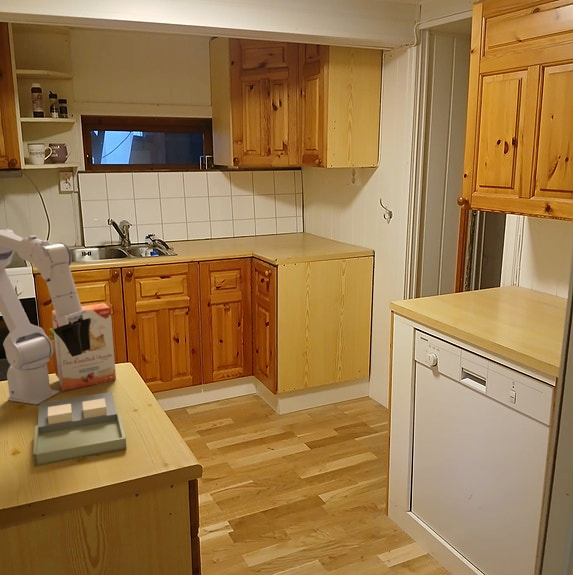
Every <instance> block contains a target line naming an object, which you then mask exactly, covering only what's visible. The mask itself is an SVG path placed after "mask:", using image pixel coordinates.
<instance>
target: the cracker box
mask: <svg viewBox="0 0 573 575" xmlns="http://www.w3.org/2000/svg"><path fill="white" fill-rule="evenodd" d="M81 307H82V310H83V311H84V310H88V312H87V313H85V314H83V315H84V318H85V319H88V318H91V323H90V331H89V335H90V350H86V351H83V352H82V354H80V355H77V356H74V357H72V356H71V354H70V352H69V351H68V349H67V347H66V345H65V344H64V342H63V341H62V339H61V338H60V337H59V336H58V335H57V334H56V333H55V332H54V338H55V347H56V357H57V366H58V376H59V378H58V383H59V385H60V387H61V389H62V391H63V392H65V391H69V390H73V389H78V388H84V387H88V386H92V385H97V384H101V383H107V382H111V381H116V380H117V377H116V375H117V373H116V361H115V351H114V347H115V346H114V335H113V325H112V324H113V323H112V322H113V321H112V312H111V311H112V310H111V306H109V305H107V303H105V302H102V303H101V302H100V303H95V304H88V305H81ZM51 315H52V316H51V318H52V326H53V328H52V329H53V330H54V329H55V328H58V327H59V326H58V323H57V319H56V318H57V316H56V313H55V309H54V310H51ZM72 320H74V319H72ZM83 320H84V319H83ZM69 321H71V320H69ZM72 323H74V322H72ZM60 327H61V326H60Z"/></svg>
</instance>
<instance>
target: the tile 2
mask: <svg viewBox="0 0 573 575" xmlns="http://www.w3.org/2000/svg"><path fill="white" fill-rule="evenodd" d="M82 403H83V413H84V419H85V418H91V417H97V416H103V415H107V410H106V403H105V398H103V399H97V400H90V401H84V402H82Z"/></svg>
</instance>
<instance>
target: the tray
mask: <svg viewBox="0 0 573 575" xmlns="http://www.w3.org/2000/svg"><path fill="white" fill-rule="evenodd" d="M127 448H128V447H127V437H126V433H125V429H124V425H123V422H122V417H121V413H120V411H117V421H111V422H105V423H99V424H94V425H88V426H82V427H76V428H70V429H64V430H58V431H53V432H47V433H41V434H39V429H38V424H36V425H34V436H33V448H32V449H33V450H32V459H33V467H38V466H45V465H49V464H54V463H55V464H56V463H59V462H60V463H61V462H65V460H66V461H70V459H71V460H76V459H80V457H82V458H85V457H86V456H87V457H93V456H97V455H103V454H107V453H108V454H109V453H112V452H113V453H114V452H118V451H123V450H124V451H125V450H127ZM102 453H103V454H102Z"/></svg>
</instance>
